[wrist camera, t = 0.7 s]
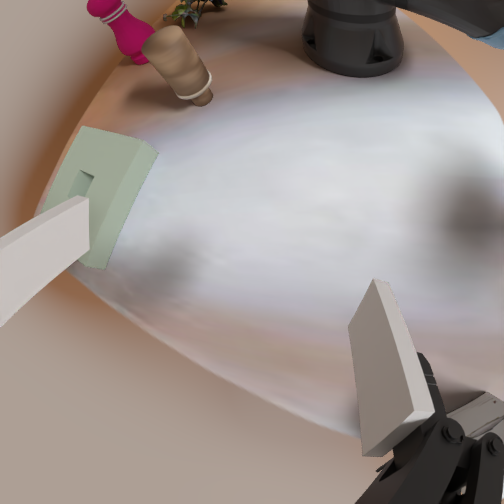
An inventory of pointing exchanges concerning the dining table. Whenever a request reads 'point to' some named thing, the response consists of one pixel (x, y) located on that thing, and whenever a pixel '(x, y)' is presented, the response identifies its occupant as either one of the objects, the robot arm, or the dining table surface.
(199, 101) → the walnut peg
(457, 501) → the robot arm
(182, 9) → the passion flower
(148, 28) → the pepper mill
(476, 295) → the dining table surface
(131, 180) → the sage board
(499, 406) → the supplement box
